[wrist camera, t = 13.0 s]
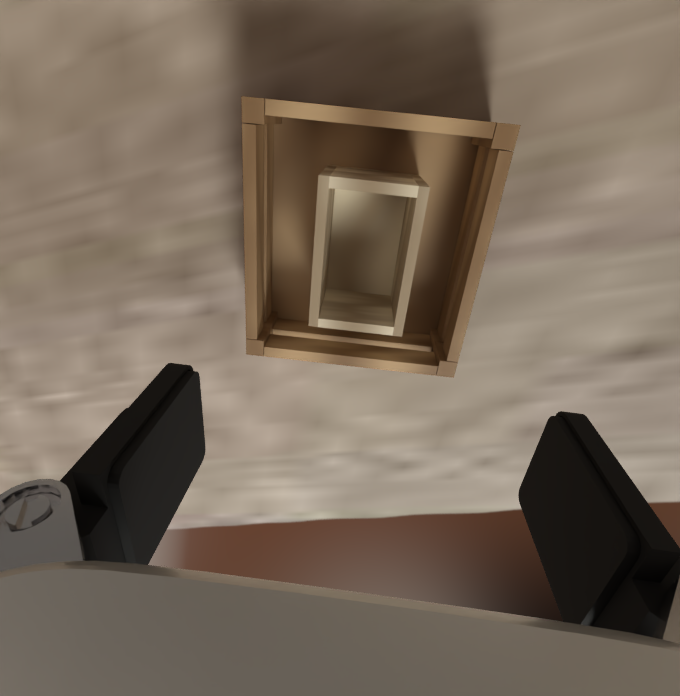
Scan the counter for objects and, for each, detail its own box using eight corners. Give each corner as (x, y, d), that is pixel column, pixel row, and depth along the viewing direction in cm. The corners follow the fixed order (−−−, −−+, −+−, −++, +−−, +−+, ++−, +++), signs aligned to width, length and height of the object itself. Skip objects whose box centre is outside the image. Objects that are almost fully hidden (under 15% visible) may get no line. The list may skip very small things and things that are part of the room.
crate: (491, 124, 27) (520, 125, 21) (440, 338, 34) (453, 377, 29) (266, 101, 27) (241, 96, 22) (265, 318, 34) (246, 354, 29)
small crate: (419, 174, 28) (430, 187, 22) (396, 301, 32) (402, 336, 27) (328, 164, 28) (318, 175, 22) (318, 292, 32) (308, 325, 27)
